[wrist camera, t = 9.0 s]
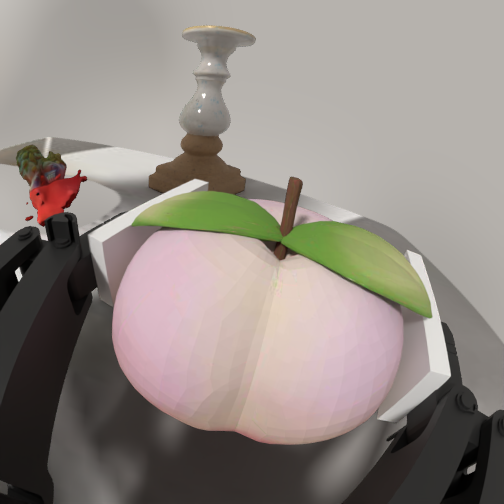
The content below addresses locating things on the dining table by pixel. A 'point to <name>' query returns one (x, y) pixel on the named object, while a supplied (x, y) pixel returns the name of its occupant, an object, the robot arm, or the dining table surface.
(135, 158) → the dining table surface
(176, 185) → the candle holder
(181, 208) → the decorative fruit
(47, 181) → the figurine
